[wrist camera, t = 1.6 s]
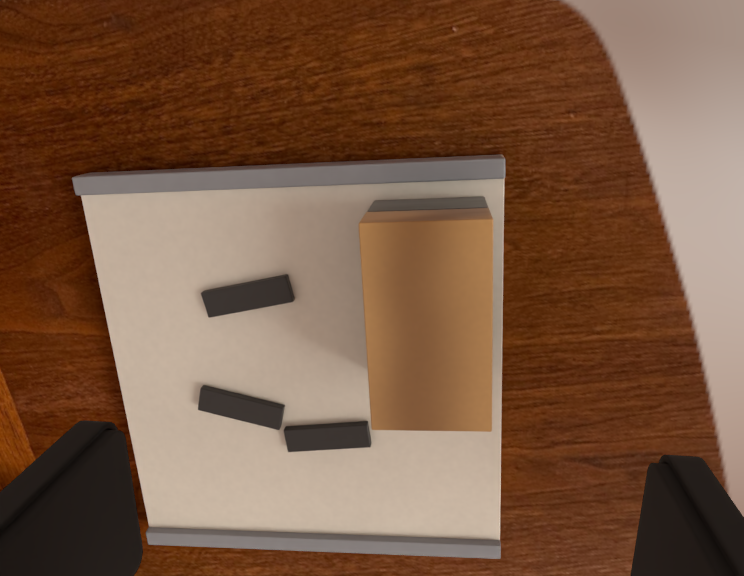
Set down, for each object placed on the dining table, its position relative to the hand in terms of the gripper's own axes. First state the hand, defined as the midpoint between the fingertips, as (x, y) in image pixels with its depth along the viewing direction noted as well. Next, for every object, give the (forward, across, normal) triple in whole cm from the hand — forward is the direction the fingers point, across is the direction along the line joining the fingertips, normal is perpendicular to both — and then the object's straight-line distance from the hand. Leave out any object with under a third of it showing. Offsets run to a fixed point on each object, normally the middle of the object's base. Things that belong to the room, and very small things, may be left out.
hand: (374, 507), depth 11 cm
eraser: (+15, -1, +1) cm, 15 cm away
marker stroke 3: (+15, +4, +8) cm, 18 cm away
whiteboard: (+16, +5, +5) cm, 18 cm away
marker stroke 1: (+15, +7, +2) cm, 17 cm away
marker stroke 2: (+15, +8, +7) cm, 19 cm away
